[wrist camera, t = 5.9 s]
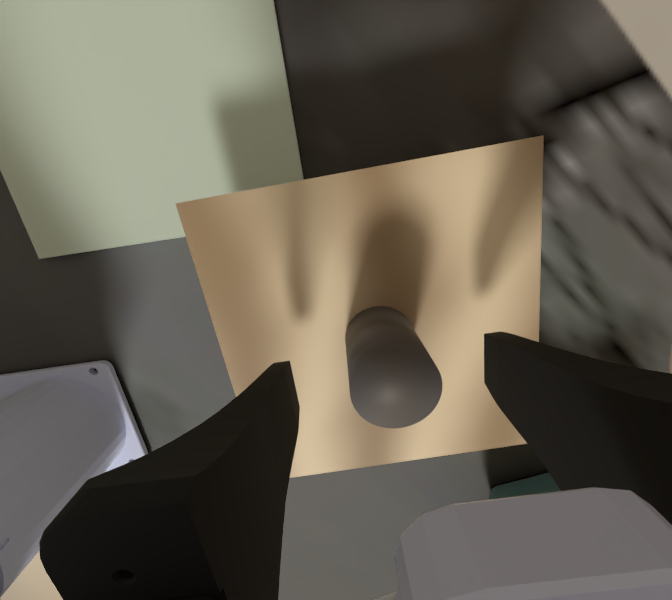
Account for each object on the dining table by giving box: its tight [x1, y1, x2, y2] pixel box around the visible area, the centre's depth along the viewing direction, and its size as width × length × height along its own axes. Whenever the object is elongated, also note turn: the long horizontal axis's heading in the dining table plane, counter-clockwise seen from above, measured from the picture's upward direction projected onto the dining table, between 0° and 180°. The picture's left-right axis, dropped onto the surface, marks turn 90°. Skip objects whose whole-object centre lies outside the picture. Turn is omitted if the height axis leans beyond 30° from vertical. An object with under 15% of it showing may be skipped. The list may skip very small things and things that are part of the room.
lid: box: [175, 135, 544, 478], centre depth 13 cm, size 14×14×5 cm
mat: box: [0, 0, 304, 259], centre depth 15 cm, size 15×15×1 cm
